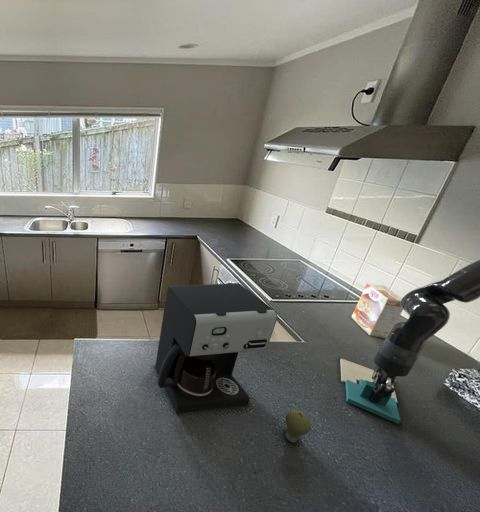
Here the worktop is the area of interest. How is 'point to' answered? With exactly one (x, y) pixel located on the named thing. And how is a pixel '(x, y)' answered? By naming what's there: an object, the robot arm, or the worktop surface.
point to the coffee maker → (209, 343)
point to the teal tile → (360, 398)
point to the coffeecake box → (377, 310)
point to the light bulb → (296, 425)
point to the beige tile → (357, 373)
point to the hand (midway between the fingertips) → (372, 397)
